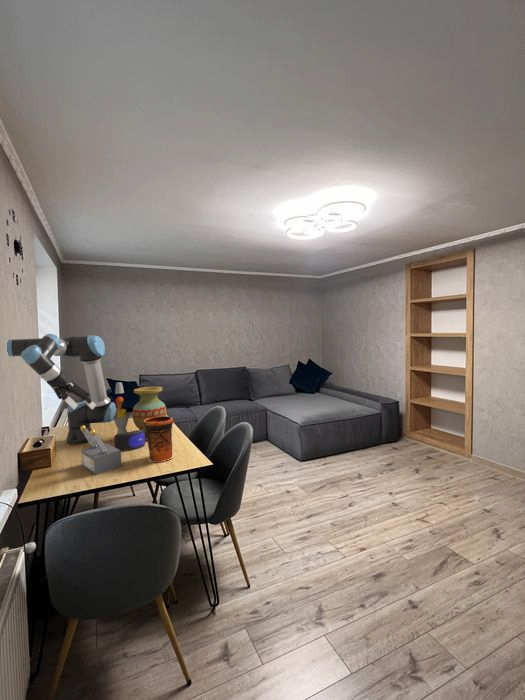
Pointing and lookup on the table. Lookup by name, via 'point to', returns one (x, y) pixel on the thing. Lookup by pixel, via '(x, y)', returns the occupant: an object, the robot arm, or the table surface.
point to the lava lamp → (120, 411)
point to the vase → (147, 406)
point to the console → (101, 459)
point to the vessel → (159, 438)
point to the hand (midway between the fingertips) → (84, 407)
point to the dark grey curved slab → (129, 440)
